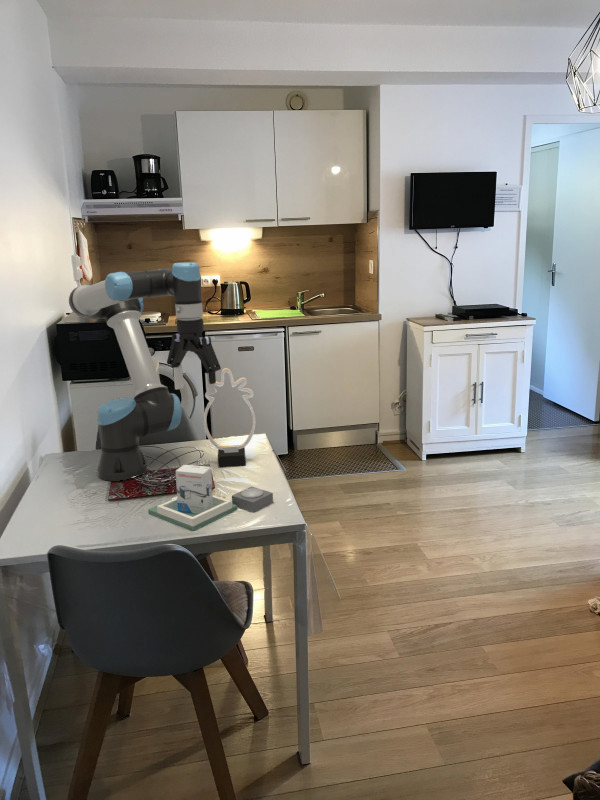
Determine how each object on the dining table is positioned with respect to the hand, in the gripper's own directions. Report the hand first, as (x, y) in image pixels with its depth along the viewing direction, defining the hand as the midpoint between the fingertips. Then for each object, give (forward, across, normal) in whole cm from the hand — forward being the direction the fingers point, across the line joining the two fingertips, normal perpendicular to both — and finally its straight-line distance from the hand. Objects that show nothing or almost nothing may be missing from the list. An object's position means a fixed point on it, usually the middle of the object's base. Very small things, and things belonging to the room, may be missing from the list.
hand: (194, 391), depth 188 cm
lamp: (+29, -6, +19) cm, 35 cm away
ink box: (+28, +15, -16) cm, 35 cm away
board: (+29, +13, -15) cm, 35 cm away
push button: (+29, +23, -2) cm, 37 cm away
